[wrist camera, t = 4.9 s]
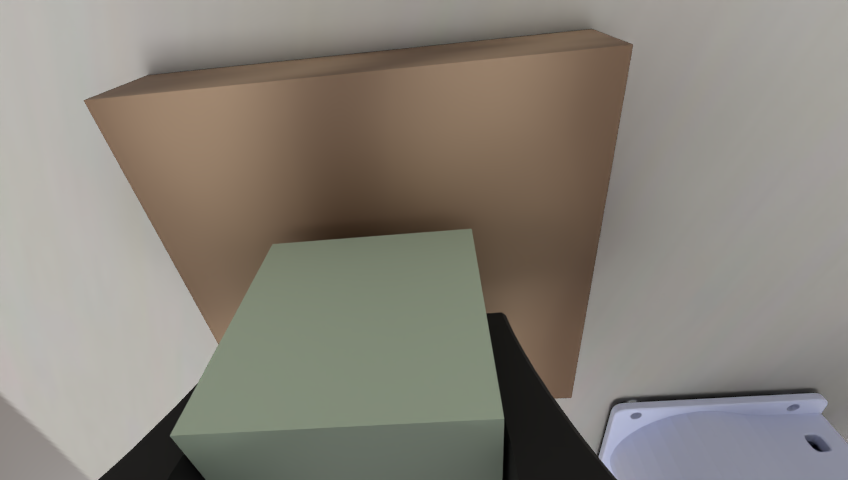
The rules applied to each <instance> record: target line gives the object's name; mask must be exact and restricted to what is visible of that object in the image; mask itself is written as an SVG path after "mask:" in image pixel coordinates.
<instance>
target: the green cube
mask: <svg viewBox="0 0 848 480" xmlns="http://www.w3.org/2000/svg"><path fill="white" fill-rule="evenodd" d="M170 437H171V438H172V439H173V440H174V442H175V443H176V444H177V445H178V447H179V448H180V449H181V450H182V451H183V453H184V454H185V455H186V456H187V457H188V459H189V460H190V461H191V462H192V464H193V465H194V466H195V467H196V468H197V470H198V471H199V472H200V473H201V475H202V476H203V477H204V478H205V479H206V480H502V477H503V445H504V414H503V408H502V402H501V397H500V391H499V385H498V379H497V373H496V368H495V362H494V356H493V350H492V344H491V338H490V333H489V327H488V321H487V315H486V309H485V303H484V298H483V292H482V286H481V280H480V274H479V268H478V263H477V257H476V251H475V245H474V239H473V234H472V229H461V230H448V231H435V232H422V233H409V234H396V235H383V236H370V237H357V238H344V239H332V240H319V241H306V242H293V243H280V244H272V246H271V248H270V250H269V252H268V254H267V255H266V257H265V259H264V261H263V263H262V265H261V267H260V268H259V270H258V272H257V274H256V276H255V278H254V280H253V281H252V283H251V285H250V287H249V289H248V291H247V293H246V295H245V296H244V298H243V300H242V302H241V304H240V306H239V308H238V309H237V311H236V313H235V315H234V317H233V319H232V321H231V322H230V324H229V326H228V328H227V330H226V332H225V334H224V336H223V337H222V339H221V341H220V343H219V345H218V347H217V349H216V350H215V352H214V354H213V356H212V358H211V360H210V362H209V364H208V365H207V367H206V369H205V371H204V373H203V375H202V377H201V378H200V380H199V382H198V384H197V386H196V388H195V390H194V391H193V393H192V395H191V397H190V399H189V401H188V403H187V405H186V406H185V408H184V410H183V412H182V414H181V416H180V418H179V419H178V421H177V423H176V425H175V427H174V429H173V431H172V433H171V434H170Z"/></svg>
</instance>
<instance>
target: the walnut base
mask: <svg viewBox="0 0 848 480" xmlns="http://www.w3.org/2000/svg"><path fill="white" fill-rule="evenodd" d="M632 48H633V44H630V43H628V42H625V41H622V40H620V39H617V38H614V37H612V36H609V35H607V34H604V33H601V32H599V31H596V30H593V29H588V30H578V31H568V32H559V33H549V34H540V35H530V36H520V37H511V38H501V39H492V40H482V41H472V42H463V43H453V44H444V45H434V46H424V47H415V48H405V49H396V50H386V51H376V52H367V53H357V54H348V55H338V56H328V57H319V58H309V59H300V60H290V61H280V62H271V63H261V64H252V65H242V66H232V67H223V68H213V69H204V70H194V71H184V72H175V73H165V74H156V75H147V76H144V77H142V78H139V79H137V80H134V81H132V82H129V83H127V84H124V85H121V86H119V87H116V88H114V89H111V90H109V91H106V92H104V93H101V94H99V95H96V96H93V97H91V98H88V99H86V100H84V102H85V104H86V105H87V107H88V109H89V111H90V113H91V115H92V116H93V118H94V120H95V122H96V124H97V125H98V127H99V129H100V131H101V133H102V134H103V136H104V138H105V140H106V142H107V143H108V145H109V147H110V149H111V151H112V153H113V154H114V156H115V158H116V160H117V162H118V163H119V165H120V167H121V169H122V171H123V172H124V174H125V176H126V178H127V180H128V182H129V183H130V185H131V187H132V189H133V191H134V192H135V194H136V196H137V198H138V200H139V201H140V203H141V205H142V207H143V209H144V210H145V212H146V214H147V216H148V218H149V220H150V221H151V223H152V225H153V227H154V229H155V230H156V232H157V234H158V236H159V238H160V239H161V241H162V243H163V245H164V247H165V248H166V250H167V252H168V254H169V256H170V258H171V259H172V261H173V263H174V265H175V267H176V268H177V270H178V272H179V274H180V276H181V277H182V279H183V281H184V283H185V285H186V287H187V288H188V290H189V292H190V294H191V296H192V297H193V299H194V301H195V303H196V305H197V306H198V308H199V310H200V312H201V314H202V315H203V317H204V319H205V321H206V323H207V325H208V326H209V328H210V330H211V332H212V334H213V335H214V337H215V339H216V341H217V343H218V344H219V343H220V341H221V339H222V337H223V336H224V334H225V332H226V330H227V328H228V326H229V324H230V322H231V321H232V319H233V317H234V315H235V313H236V311H237V309H238V308H239V306H240V304H241V302H242V300H243V298H244V296H245V295H246V293H247V291H248V289H249V287H250V285H251V283H252V281H253V280H254V278H255V276H256V274H257V272H258V270H259V268H260V267H261V265H262V263H263V261H264V259H265V257H266V255H267V254H268V252H269V250H270V248H271V246H272V244H280V243H293V242H306V241H319V240H332V239H344V238H357V237H370V236H383V235H396V234H409V233H422V232H435V231H448V230H461V229H472V234H473V239H474V245H475V251H476V257H477V263H478V268H479V274H480V280H481V286H482V292H483V298H484V303H485V309H486V313H499V312H502V313H503V314H505V315H506V316H507V319H508V321H509V323H510V326H511V328H512V330H513V332H514V334H515V336H516V338H517V339H518V341H519V343H520V345H521V347H522V348H523V350H524V352H525V354H526V355H527V357H528V359H529V360H530V362H531V364H532V365H533V367H534V369H535V370H536V372H537V373H538V375H539V376H540V378H541V379H542V381H543V382H544V384H545V385H546V387H547V389H548V390H549V392H550V393H551V395H552V396H553V398H554V399H556V398H571V397H572V391H573V385H574V380H575V374H576V368H577V362H578V357H579V351H580V345H581V340H582V334H583V328H584V322H585V317H586V311H587V305H588V300H589V294H590V288H591V282H592V277H593V271H594V265H595V260H596V254H597V248H598V242H599V237H600V231H601V225H602V220H603V214H604V208H605V202H606V197H607V191H608V185H609V180H610V174H611V168H612V162H613V157H614V151H615V145H616V140H617V134H618V128H619V122H620V117H621V111H622V105H623V100H624V94H625V88H626V82H627V77H628V71H629V65H630V60H631V54H632Z"/></svg>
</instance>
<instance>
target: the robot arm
mask: <svg viewBox="0 0 848 480" xmlns="http://www.w3.org/2000/svg"><path fill="white" fill-rule="evenodd" d="M486 315H487V321H488V327H489V333H490V338H491V344H492V350H493V356H494V362H495V368H496V373H497V379H498V385H499V391H500V397H501V402H502V408H503V414H504V445H503V477H502V480H848V443H847V442H846V441H845V440H844V439H843V438H842V437H841V435H840V434H839V433H838V432H837V431H836V430H835V429H834V428H833V426H832V425H831V424H830V423H829V422H828V421H827V420H826V418H825V417H824V416H823V415H822V414H821V413H822V411H823V410H824V409H825V408H826V406H827V404H828V402H827V400H826V399H825V398H824V397H823V396H822V395H821V394H819V393H802V394H784V395H765V396H746V397H727V398H708V399H689V400H670V401H651V402H632V403H620V404H617V405H615V406H614V407H613V408H612V410H611V413H610V417H609V421H608V424H607V428H606V432H605V435H604V439H603V443H602V446H601V450H600V454H599V457H598V456H597V455H596V454H595V452H594V451H593V450H592V449H591V447H590V446H589V445H588V444H587V442H586V441H585V440H584V439H583V437H582V436H581V435H580V433H579V432H578V431H577V429H576V428H575V427H574V425H573V424H572V423H571V421H570V420H569V419H568V417H567V416H566V414H565V413H564V412H563V410H562V409H561V408H560V406H559V405H558V403H557V402H556V400H555V399H554V398H553V396H552V395H551V393H550V392H549V390H548V389H547V387H546V385H545V384H544V382H543V381H542V379H541V378H540V376H539V375H538V373H537V372H536V370H535V369H534V367H533V365H532V364H531V362H530V360H529V359H528V357H527V355H526V354H525V352H524V350H523V348H522V347H521V345H520V343H519V341H518V339H517V338H516V336H515V334H514V332H513V330H512V328H511V326H510V323H509V321H508V319H507V316H506V315H505V314H503V313H502V312H499V313H486ZM197 384H198V383H197ZM196 386H197V385H196ZM196 386H195V387H194V388H193V389H192V390H191V391H190V392H189V393H188V394H187V395H186V396H185V397H184V398H183V399H182V400H181V401H180V402H179V403H178V404H177V406H176V407H175V408H174V409H173V410H172V411H170V412H169V413H168V414H167V415H166V416H165V417H164V418H163V419H162V420H161V421H160V422H159V423H158V424H157V425H156V426H155V427H154V428H153V429H152V430H151V431H150V432H149V433H148V434H147V435H146V436H145V437H144V438H143V439H142V440H141V441H140V442H139V443H138V444H137V445H136V446H135V447H134V448H133V449H132V450H131V451H130V452H128V453H127V454H126V455H125V456H124V457H123V458H122V459H121V460H120V461H119V462H118V463H116V464H115V465H114V466H113V467H112V468H111V469H110V470H109V471H108V472H107V473H105V474H104V475H103V476H102V477H101V478H100V479H98V480H206V479H205V478H204V477H203V476H202V475H201V473H200V472H199V471H198V470H197V468H196V467H195V466H194V465H193V464H192V462H191V461H190V460H189V459H188V457H187V456H186V455H185V454H184V453H183V451H182V450H181V449H180V448H179V447H178V445H177V444H176V443H175V442H174V440H173V439H172V438H171V437H170V434H171V433H172V431H173V429H174V427H175V425H176V423H177V421H178V419H179V418H180V416H181V414H182V412H183V410H184V408H185V406H186V405H187V403H188V401H189V399H190V397H191V395H192V393H193V391H194V390H195V388H196Z"/></svg>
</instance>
